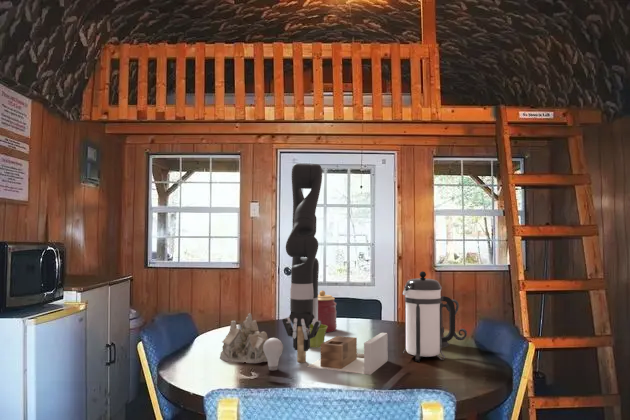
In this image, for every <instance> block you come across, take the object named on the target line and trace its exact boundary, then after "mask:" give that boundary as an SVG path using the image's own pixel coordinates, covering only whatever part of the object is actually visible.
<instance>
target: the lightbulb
mask: <svg viewBox="0 0 630 420" xmlns="http://www.w3.org/2000/svg"><path fill="white" fill-rule="evenodd" d="M263 350H264V353H265V355H266V357H267V360H268V362H267V365H268V370H269V371H278V366H279V360H280V357H281V356H282V353H283V350H284V344H283V343H282V341H281V340H280V339H278V337H277V338H276V337H270V338H268V340H266V342H265V343H264V346H263Z"/></svg>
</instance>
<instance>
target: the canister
mask: <svg viewBox="0 0 630 420" xmlns="http://www.w3.org/2000/svg"><path fill="white" fill-rule="evenodd" d="M337 303H338V302H335V297H334V296H333V295H331V294H326V292H325V290H320V291H319V292H318V321H321V322H322V323H321V324H322V325H326V326H328V327H327V329H326V332H325V333H332V332H335V331H336V330H337V327H338V326H337V310H336V309H337V307H336V306H337Z"/></svg>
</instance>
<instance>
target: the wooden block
mask: <svg viewBox="0 0 630 420" xmlns="http://www.w3.org/2000/svg"><path fill="white" fill-rule="evenodd" d="M357 358H364V353H360V352H358V353H357Z"/></svg>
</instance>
